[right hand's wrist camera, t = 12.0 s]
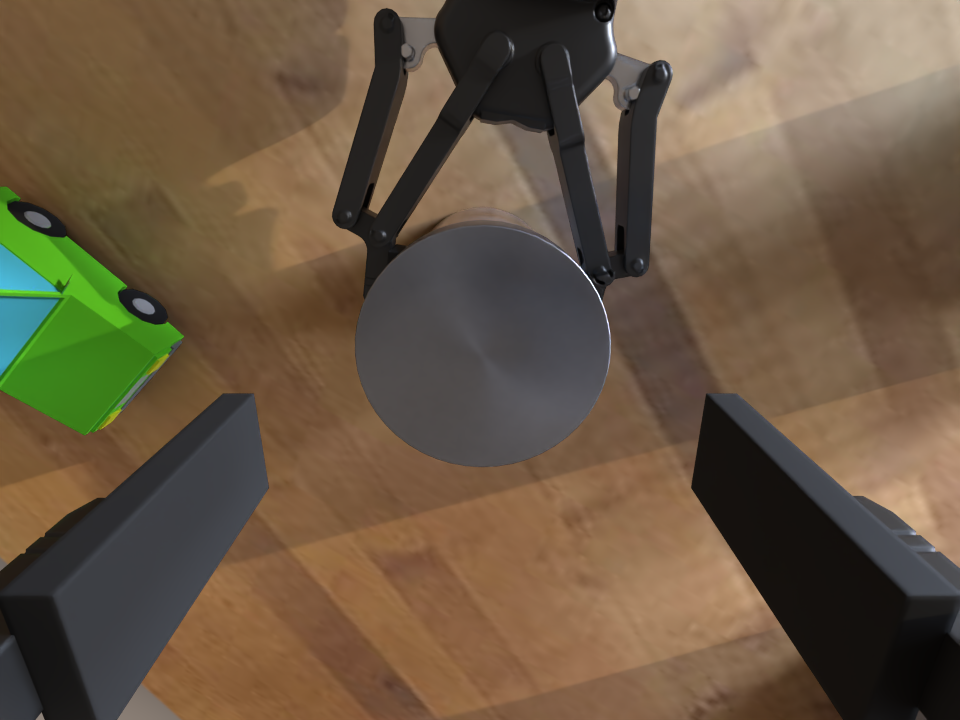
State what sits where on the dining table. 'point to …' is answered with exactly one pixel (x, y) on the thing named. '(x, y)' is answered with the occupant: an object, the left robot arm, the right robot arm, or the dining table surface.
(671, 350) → the dining table surface
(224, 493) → the right robot arm
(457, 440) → the lid
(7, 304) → the green blue-banded case
